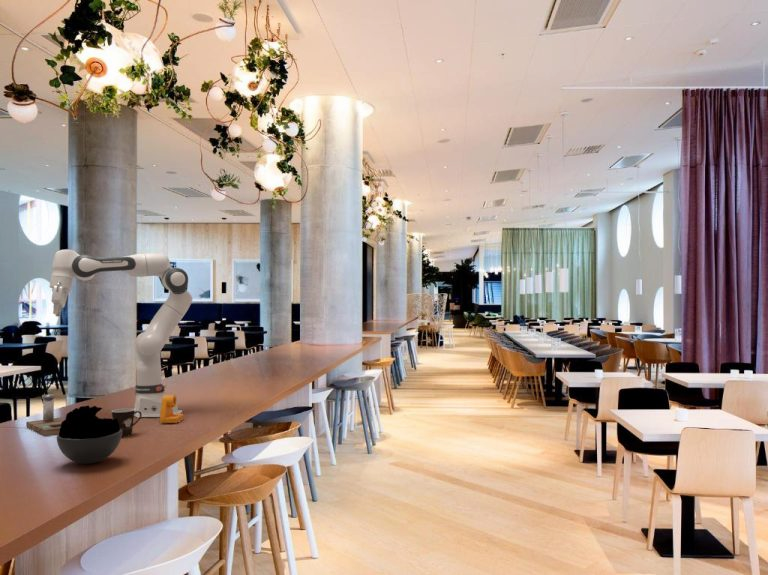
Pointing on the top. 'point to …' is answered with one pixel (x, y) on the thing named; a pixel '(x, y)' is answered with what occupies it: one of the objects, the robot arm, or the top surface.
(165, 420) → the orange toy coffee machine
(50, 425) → the hole board
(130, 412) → the coffee mug
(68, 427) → the bowl of black rocks
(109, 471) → the top surface
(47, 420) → the glass spice jar
